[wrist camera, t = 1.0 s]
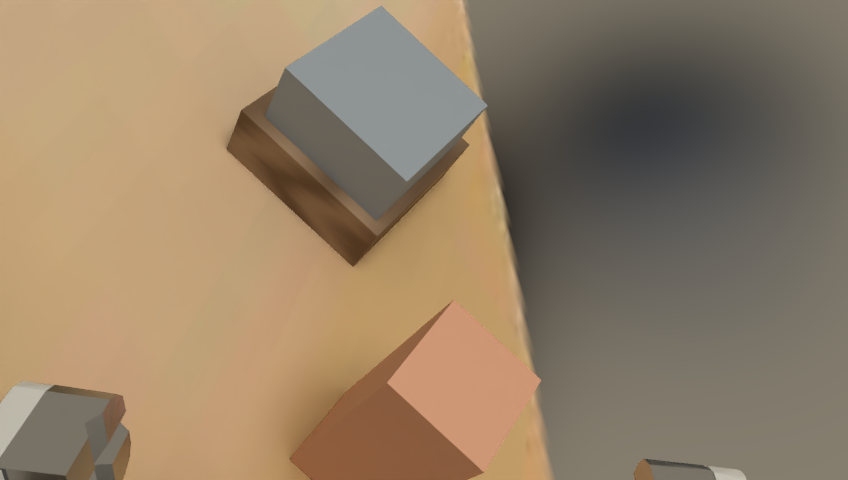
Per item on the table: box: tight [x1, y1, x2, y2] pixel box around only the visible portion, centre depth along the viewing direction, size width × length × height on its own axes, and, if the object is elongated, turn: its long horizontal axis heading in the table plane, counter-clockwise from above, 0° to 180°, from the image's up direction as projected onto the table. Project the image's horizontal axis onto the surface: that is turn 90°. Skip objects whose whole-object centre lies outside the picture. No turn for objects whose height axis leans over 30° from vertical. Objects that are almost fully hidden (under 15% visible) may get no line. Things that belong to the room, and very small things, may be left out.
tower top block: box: [265, 6, 487, 221], centre depth 48 cm, size 10×10×5 cm
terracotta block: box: [290, 300, 541, 480], centre depth 38 cm, size 6×6×15 cm
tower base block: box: [227, 87, 469, 266], centre depth 52 cm, size 12×12×5 cm
